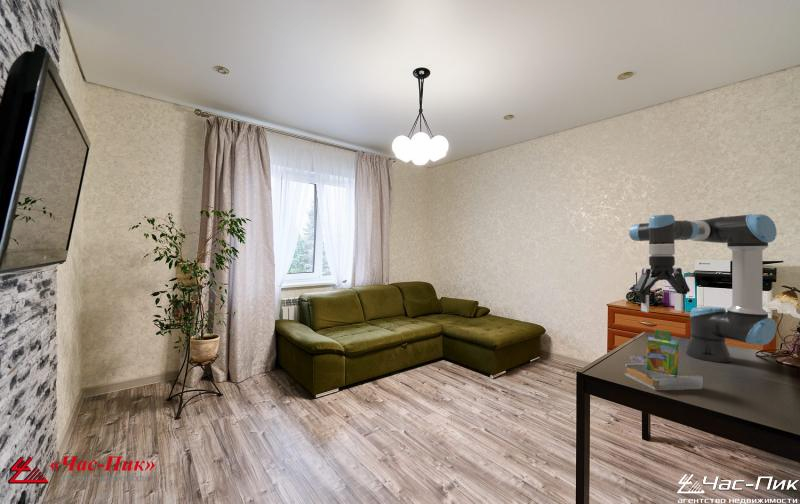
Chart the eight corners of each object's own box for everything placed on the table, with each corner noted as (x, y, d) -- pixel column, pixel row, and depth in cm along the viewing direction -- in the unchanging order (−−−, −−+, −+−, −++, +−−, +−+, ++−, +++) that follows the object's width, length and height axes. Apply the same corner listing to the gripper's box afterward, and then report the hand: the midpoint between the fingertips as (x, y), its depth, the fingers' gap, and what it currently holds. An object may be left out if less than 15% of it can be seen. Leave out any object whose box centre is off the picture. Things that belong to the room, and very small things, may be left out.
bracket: (667, 373, 128) (667, 362, 128) (702, 388, 114) (702, 376, 114) (625, 374, 127) (625, 363, 126) (655, 390, 113) (655, 378, 113)
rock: (664, 374, 127) (664, 363, 127) (629, 368, 134) (629, 357, 134) (663, 368, 133) (663, 357, 134) (630, 363, 140) (630, 352, 140)
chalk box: (646, 370, 120) (646, 331, 119) (647, 363, 126) (647, 327, 126) (678, 376, 114) (678, 335, 113) (678, 369, 120) (678, 330, 120)
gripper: (683, 254, 124) (683, 308, 124) (622, 255, 123) (623, 310, 123) (702, 255, 117) (702, 312, 117) (638, 256, 115) (638, 314, 115)
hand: (662, 311), depth 120 cm, fingers open, 13 cm apart
